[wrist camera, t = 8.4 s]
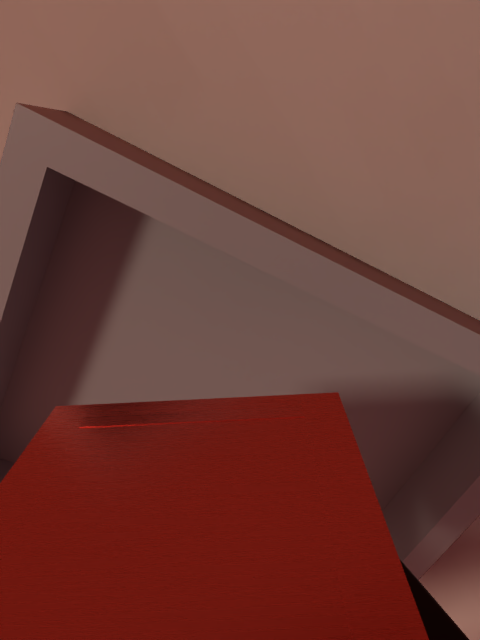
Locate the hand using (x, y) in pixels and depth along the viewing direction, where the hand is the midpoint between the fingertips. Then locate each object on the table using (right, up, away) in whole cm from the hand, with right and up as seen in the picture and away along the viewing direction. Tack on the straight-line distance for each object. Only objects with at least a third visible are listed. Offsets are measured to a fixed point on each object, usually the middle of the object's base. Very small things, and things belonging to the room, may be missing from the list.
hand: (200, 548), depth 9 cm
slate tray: (0, +1, +10) cm, 10 cm away
